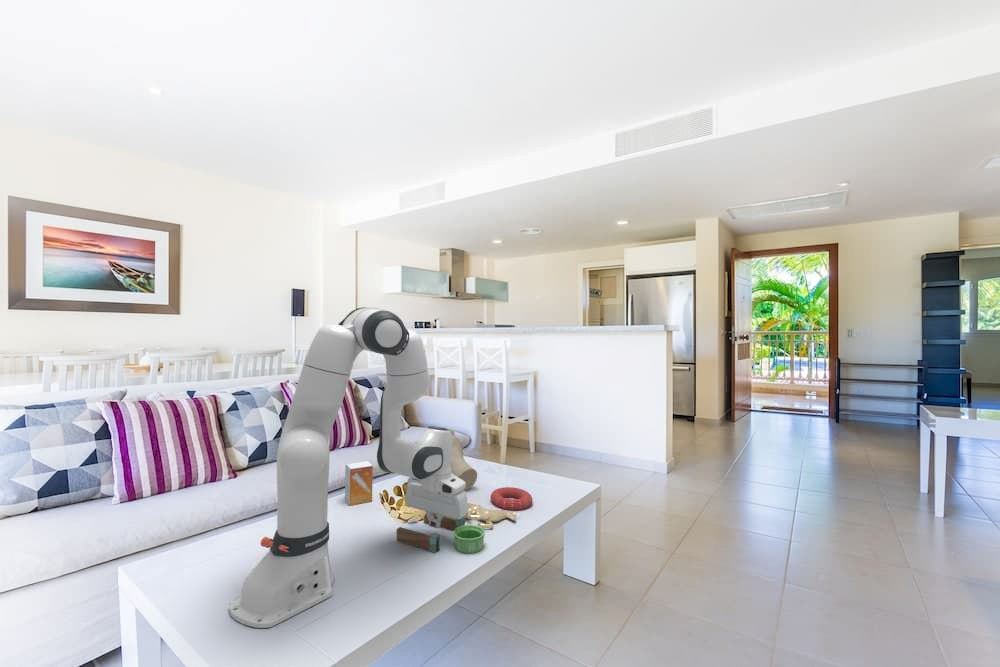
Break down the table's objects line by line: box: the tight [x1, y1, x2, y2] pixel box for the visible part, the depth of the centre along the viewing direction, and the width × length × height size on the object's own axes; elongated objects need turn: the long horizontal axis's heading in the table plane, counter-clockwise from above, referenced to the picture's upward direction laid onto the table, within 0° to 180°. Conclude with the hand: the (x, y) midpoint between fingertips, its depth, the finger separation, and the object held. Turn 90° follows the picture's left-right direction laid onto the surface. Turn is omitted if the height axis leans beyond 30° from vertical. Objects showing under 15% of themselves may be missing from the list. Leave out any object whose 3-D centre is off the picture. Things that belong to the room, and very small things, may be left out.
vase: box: [447, 428, 478, 492], centre depth 177 cm, size 23×23×30 cm
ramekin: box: [453, 524, 486, 554], centre depth 129 cm, size 9×9×4 cm
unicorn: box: [465, 502, 520, 529], centre depth 148 cm, size 20×4×17 cm
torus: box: [490, 486, 533, 511], centre depth 161 cm, size 16×14×4 cm
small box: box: [344, 460, 374, 506], centre depth 160 cm, size 8×6×13 cm
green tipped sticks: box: [396, 513, 466, 554], centre depth 134 cm, size 16×14×4 cm
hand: (434, 526), depth 134 cm, fingers closed
